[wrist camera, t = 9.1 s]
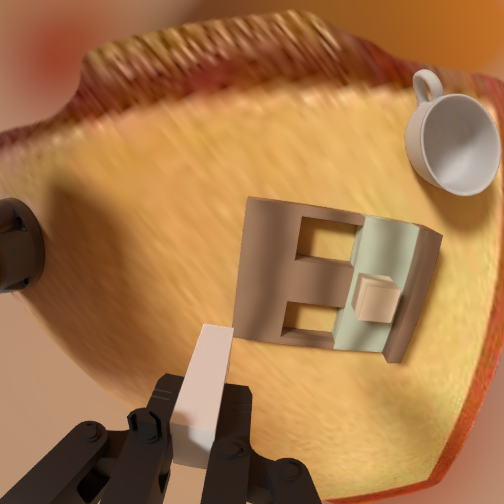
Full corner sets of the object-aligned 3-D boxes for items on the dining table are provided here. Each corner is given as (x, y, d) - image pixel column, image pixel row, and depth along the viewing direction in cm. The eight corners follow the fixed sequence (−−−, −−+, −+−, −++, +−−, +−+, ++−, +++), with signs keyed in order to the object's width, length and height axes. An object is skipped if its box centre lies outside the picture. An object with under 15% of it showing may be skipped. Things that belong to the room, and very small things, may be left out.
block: (350, 303, 35) (358, 320, 31) (358, 272, 34) (367, 286, 30) (380, 306, 35) (390, 322, 31) (389, 276, 34) (401, 290, 30)
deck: (233, 326, 40) (228, 348, 35) (248, 196, 35) (244, 202, 30) (389, 342, 39) (400, 363, 34) (424, 225, 34) (442, 235, 29)
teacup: (472, 177, 32) (509, 184, 24) (407, 198, 33) (438, 209, 26) (442, 74, 28) (475, 60, 20) (372, 87, 30) (396, 69, 22)
